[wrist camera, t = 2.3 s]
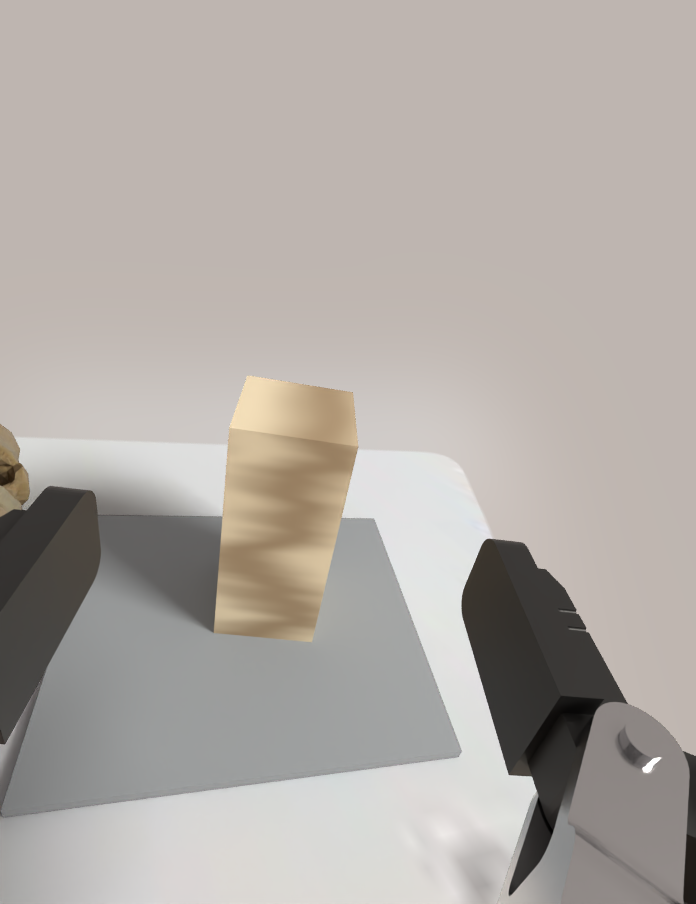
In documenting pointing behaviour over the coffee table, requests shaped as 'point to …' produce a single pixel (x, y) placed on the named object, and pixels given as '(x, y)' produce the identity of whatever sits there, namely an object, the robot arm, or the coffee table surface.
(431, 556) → the coffee table surface
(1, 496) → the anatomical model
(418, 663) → the slate mat
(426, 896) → the coffee table surface
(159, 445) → the coffee table surface
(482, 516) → the coffee table surface
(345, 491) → the birch block
